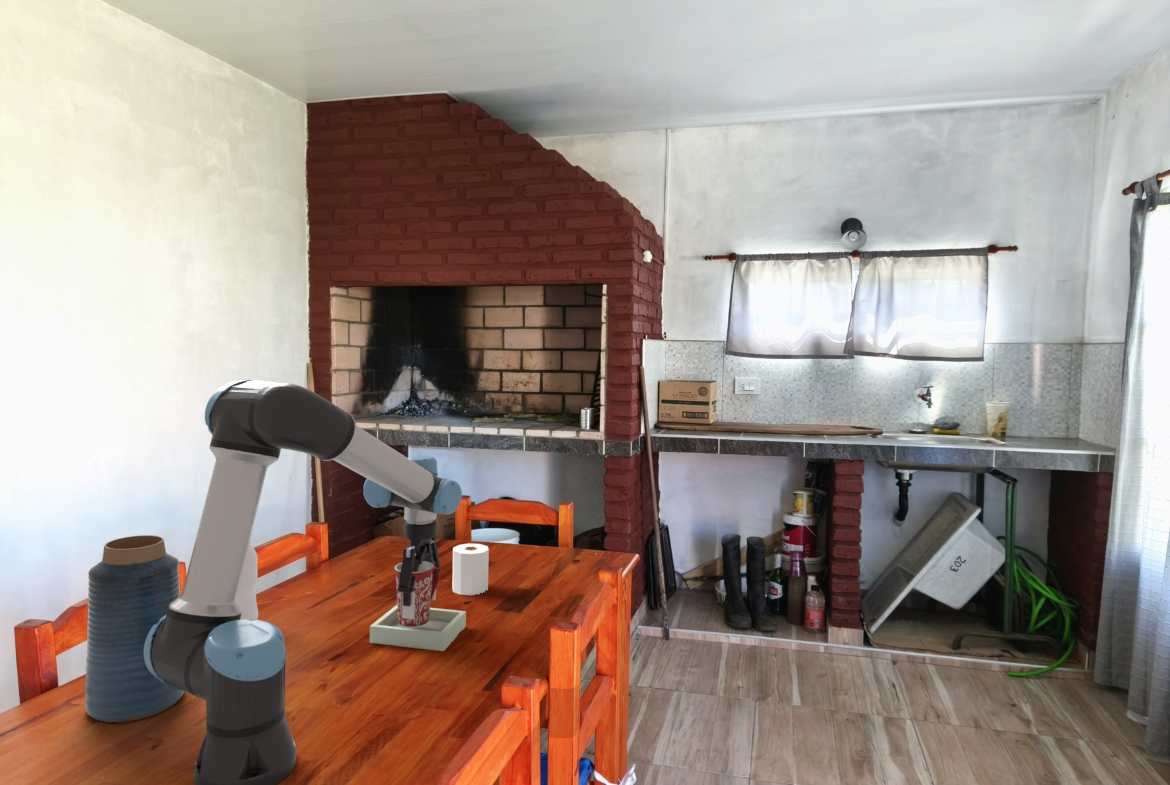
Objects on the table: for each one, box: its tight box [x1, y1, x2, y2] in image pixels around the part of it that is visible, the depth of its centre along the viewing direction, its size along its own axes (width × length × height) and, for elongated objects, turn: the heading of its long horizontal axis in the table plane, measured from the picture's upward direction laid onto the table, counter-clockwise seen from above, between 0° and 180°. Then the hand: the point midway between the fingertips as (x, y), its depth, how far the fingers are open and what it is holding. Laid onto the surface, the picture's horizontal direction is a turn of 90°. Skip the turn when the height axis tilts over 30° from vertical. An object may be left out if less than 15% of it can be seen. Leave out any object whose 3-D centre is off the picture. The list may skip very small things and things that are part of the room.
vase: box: [84, 534, 185, 723], centre depth 135 cm, size 16×16×32 cm
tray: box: [369, 604, 467, 652], centre depth 171 cm, size 14×18×4 cm
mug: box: [394, 561, 440, 627], centre depth 171 cm, size 13×9×14 cm
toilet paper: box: [451, 543, 490, 596], centre depth 203 cm, size 10×10×12 cm
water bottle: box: [236, 541, 259, 621], centre depth 172 cm, size 7×7×25 cm
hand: (419, 608), depth 171 cm, fingers closed on mug, 12 cm apart
